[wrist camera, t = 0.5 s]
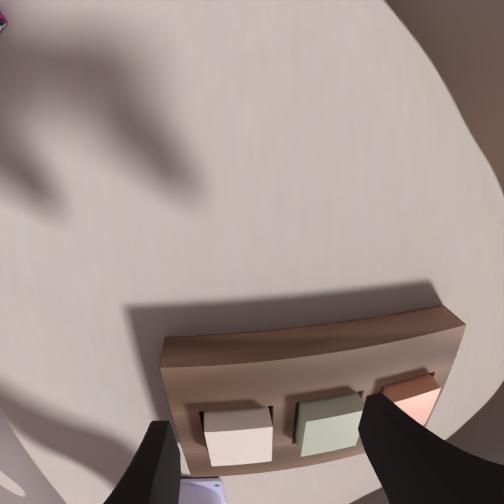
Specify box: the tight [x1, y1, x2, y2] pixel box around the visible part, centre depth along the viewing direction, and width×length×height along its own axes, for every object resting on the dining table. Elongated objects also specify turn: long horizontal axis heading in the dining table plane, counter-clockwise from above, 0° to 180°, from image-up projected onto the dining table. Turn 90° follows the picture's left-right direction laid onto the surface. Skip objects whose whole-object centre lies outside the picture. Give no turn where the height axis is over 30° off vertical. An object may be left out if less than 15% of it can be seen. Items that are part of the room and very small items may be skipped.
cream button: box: [204, 406, 273, 466], centre depth 19 cm, size 4×4×3 cm
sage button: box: [293, 392, 364, 457], centre depth 20 cm, size 4×4×3 cm
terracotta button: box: [381, 373, 441, 425], centre depth 20 cm, size 4×4×3 cm
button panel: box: [160, 305, 466, 477], centre depth 21 cm, size 12×20×3 cm, turn 91°
